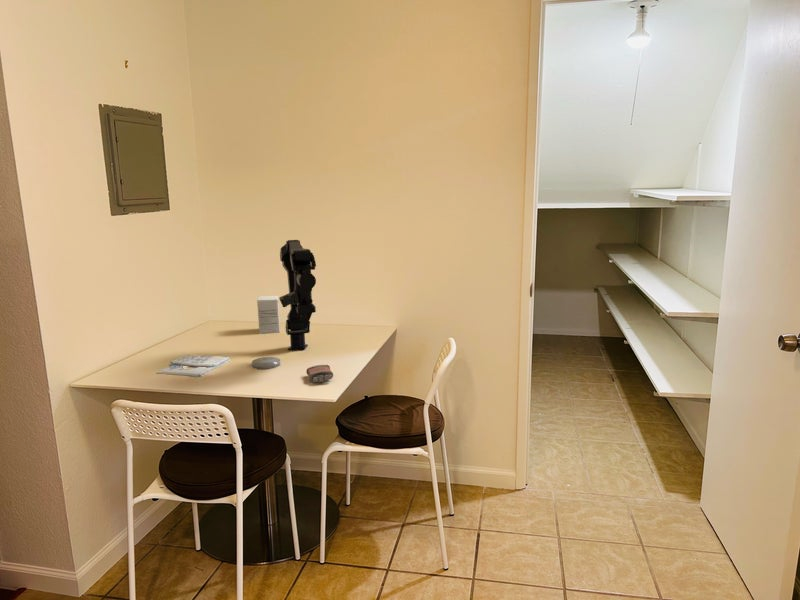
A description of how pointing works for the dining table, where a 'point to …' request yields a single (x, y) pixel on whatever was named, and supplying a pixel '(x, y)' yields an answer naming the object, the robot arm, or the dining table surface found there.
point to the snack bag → (195, 361)
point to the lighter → (319, 373)
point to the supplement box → (268, 314)
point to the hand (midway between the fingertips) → (305, 327)
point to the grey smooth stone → (266, 363)
